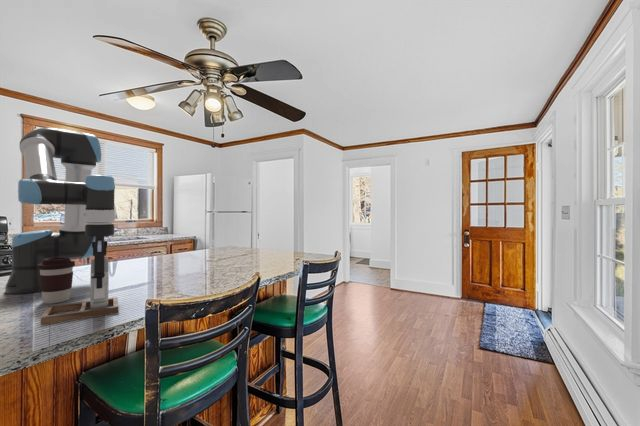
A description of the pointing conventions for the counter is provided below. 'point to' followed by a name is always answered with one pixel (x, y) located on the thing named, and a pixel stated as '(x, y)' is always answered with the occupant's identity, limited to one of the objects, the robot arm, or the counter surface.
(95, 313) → the walnut divider frame
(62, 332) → the counter surface
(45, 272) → the coffee cup
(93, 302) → the container
